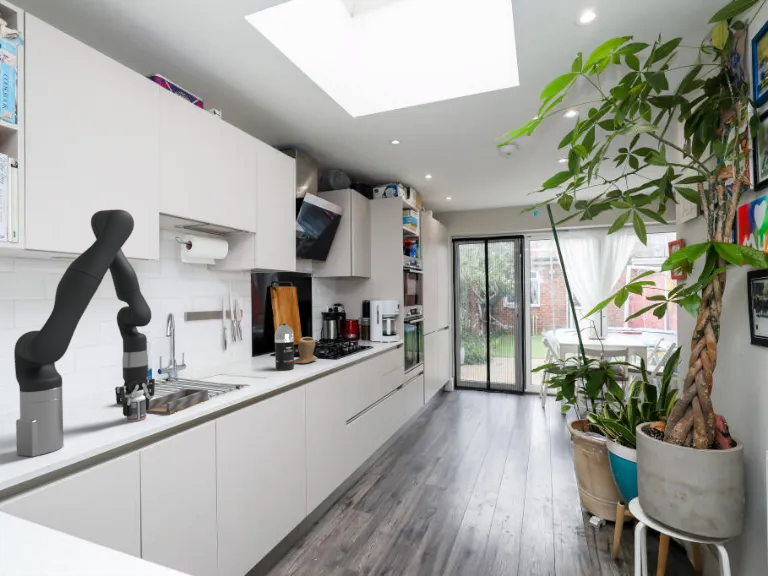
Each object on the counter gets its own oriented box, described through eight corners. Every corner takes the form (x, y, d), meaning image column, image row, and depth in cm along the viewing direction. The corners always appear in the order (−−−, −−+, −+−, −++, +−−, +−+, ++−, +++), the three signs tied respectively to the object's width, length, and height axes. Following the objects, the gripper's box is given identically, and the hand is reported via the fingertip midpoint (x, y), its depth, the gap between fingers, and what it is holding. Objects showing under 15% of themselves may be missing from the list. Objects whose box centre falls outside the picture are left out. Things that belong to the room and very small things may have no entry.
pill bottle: (142, 415, 146) (141, 387, 146) (148, 418, 142) (148, 390, 142) (124, 420, 141) (123, 391, 141) (130, 423, 138) (129, 393, 138)
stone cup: (308, 365, 236) (307, 339, 236) (291, 364, 242) (290, 338, 242) (322, 360, 250) (322, 336, 250) (306, 359, 255) (306, 335, 255)
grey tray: (170, 414, 146) (170, 403, 146) (145, 412, 149) (145, 401, 149) (208, 399, 166) (208, 389, 166) (186, 398, 169) (185, 388, 169)
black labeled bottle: (271, 369, 227) (270, 323, 227) (288, 366, 234) (287, 322, 234) (281, 371, 219) (280, 324, 219) (298, 368, 226) (297, 323, 226)
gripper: (125, 368, 134) (126, 420, 134) (161, 360, 148) (162, 407, 148) (107, 368, 136) (108, 418, 136) (144, 360, 150) (145, 406, 150)
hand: (136, 412), depth 142 cm, fingers open, 6 cm apart
